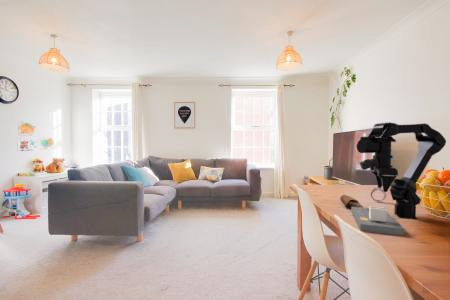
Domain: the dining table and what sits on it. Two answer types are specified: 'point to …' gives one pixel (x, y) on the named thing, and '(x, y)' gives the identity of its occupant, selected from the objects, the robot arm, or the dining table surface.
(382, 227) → the fader console
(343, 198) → the sunglasses case
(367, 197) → the dining table surface
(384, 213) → the fader knob
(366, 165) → the robot arm
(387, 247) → the dining table surface
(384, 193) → the ring
